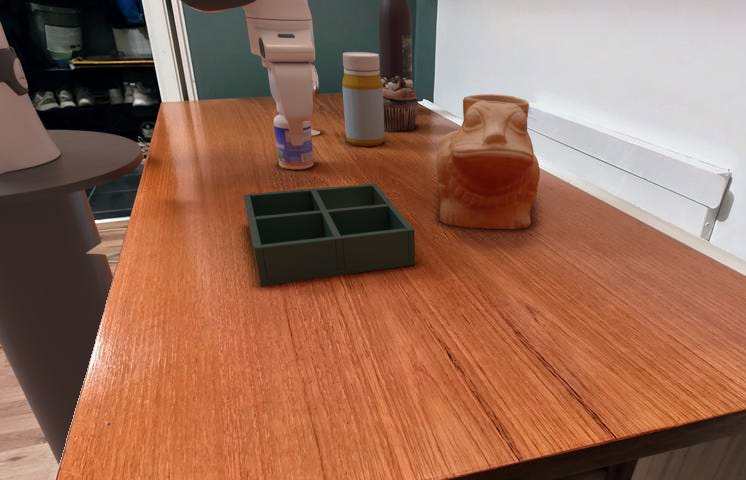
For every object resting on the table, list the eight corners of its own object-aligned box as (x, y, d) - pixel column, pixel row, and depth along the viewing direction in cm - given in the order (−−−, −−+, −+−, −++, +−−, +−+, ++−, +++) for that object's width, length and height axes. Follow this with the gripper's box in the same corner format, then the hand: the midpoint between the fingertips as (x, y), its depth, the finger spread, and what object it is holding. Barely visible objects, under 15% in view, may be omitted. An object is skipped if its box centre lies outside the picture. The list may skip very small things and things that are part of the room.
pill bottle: (277, 161, 88) (268, 98, 83) (311, 159, 90) (305, 97, 85) (281, 171, 84) (272, 105, 79) (317, 169, 86) (310, 104, 81)
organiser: (260, 286, 53) (254, 248, 51) (249, 227, 65) (243, 194, 63) (415, 264, 59) (414, 229, 57) (377, 214, 71) (376, 183, 69)
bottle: (391, 144, 102) (389, 56, 94) (358, 148, 97) (353, 57, 90) (372, 135, 106) (367, 51, 98) (339, 140, 102) (332, 52, 94)
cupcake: (428, 127, 115) (428, 76, 110) (397, 134, 108) (396, 80, 103) (393, 119, 119) (392, 70, 114) (362, 126, 112) (359, 74, 107)
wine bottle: (406, 114, 124) (403, -41, 109) (377, 111, 125) (370, -43, 110) (416, 109, 130) (415, -40, 115) (388, 106, 131) (384, -41, 116)
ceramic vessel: (427, 240, 65) (428, 108, 57) (442, 174, 87) (444, 73, 79) (543, 246, 65) (560, 115, 57) (528, 179, 87) (539, 78, 80)
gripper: (253, 33, 85) (266, 125, 92) (265, 48, 69) (280, 157, 76) (295, 34, 87) (304, 123, 94) (316, 49, 71) (326, 155, 78)
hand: (294, 139), depth 85 cm, fingers closed on pill bottle, 5 cm apart
